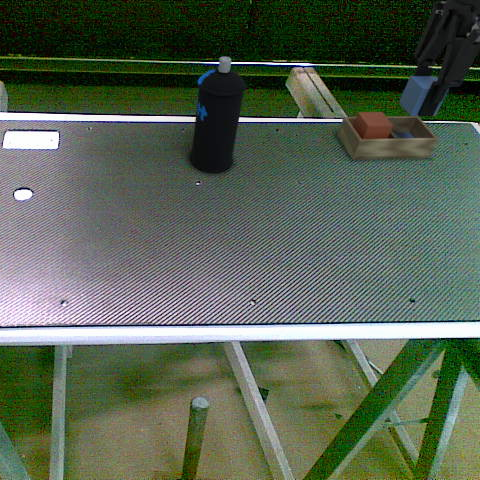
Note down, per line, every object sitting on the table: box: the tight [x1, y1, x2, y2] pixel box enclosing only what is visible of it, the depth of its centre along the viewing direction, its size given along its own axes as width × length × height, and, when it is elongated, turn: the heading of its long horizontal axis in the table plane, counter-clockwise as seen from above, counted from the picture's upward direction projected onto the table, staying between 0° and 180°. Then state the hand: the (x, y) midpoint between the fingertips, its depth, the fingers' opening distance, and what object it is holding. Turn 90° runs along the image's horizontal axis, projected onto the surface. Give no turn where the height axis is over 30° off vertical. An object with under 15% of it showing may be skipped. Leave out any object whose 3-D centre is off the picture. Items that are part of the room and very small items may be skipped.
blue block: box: [398, 75, 450, 117], centre depth 89 cm, size 5×5×6 cm
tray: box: [336, 115, 440, 161], centre depth 95 cm, size 16×9×4 cm, turn 95°
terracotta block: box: [353, 111, 393, 139], centre depth 94 cm, size 5×5×6 cm
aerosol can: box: [189, 55, 247, 174], centre depth 84 cm, size 8×8×20 cm
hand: (417, 107), depth 91 cm, fingers closed on blue block, 5 cm apart
